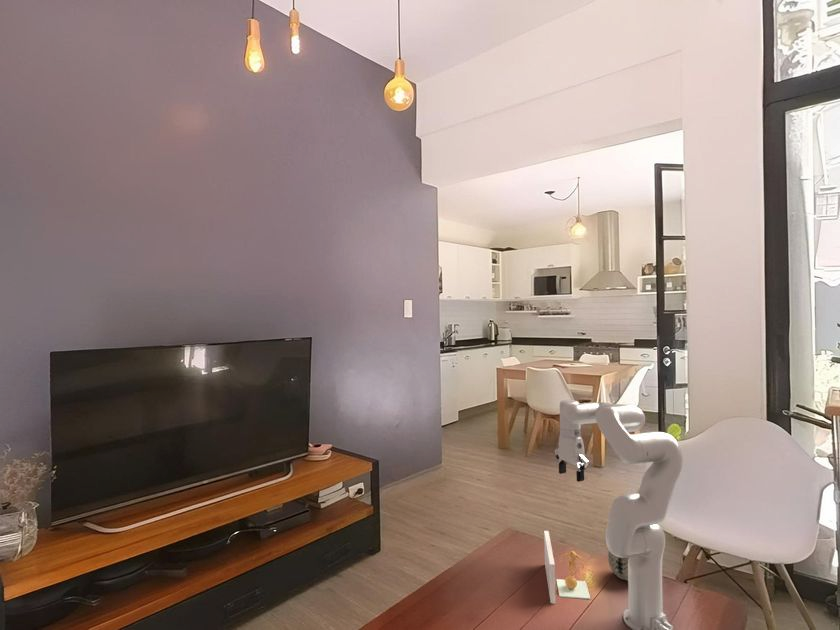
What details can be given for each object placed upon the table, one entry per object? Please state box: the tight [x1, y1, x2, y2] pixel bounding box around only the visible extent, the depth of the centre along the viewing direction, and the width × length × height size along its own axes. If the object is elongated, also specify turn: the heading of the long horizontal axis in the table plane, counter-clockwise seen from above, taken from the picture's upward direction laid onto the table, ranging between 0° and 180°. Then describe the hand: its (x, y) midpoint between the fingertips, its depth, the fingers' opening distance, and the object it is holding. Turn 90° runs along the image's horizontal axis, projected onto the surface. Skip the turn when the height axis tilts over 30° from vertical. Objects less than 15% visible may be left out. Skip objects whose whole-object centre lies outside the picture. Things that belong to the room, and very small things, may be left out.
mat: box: [555, 578, 591, 600], centre depth 164 cm, size 10×10×1 cm
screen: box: [543, 530, 556, 605], centre depth 168 cm, size 24×2×13 cm, turn 170°
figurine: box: [559, 550, 585, 589], centre depth 165 cm, size 8×6×12 cm
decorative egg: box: [607, 549, 629, 582], centre depth 170 cm, size 12×12×15 cm
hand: (571, 476), depth 183 cm, fingers open, 9 cm apart
